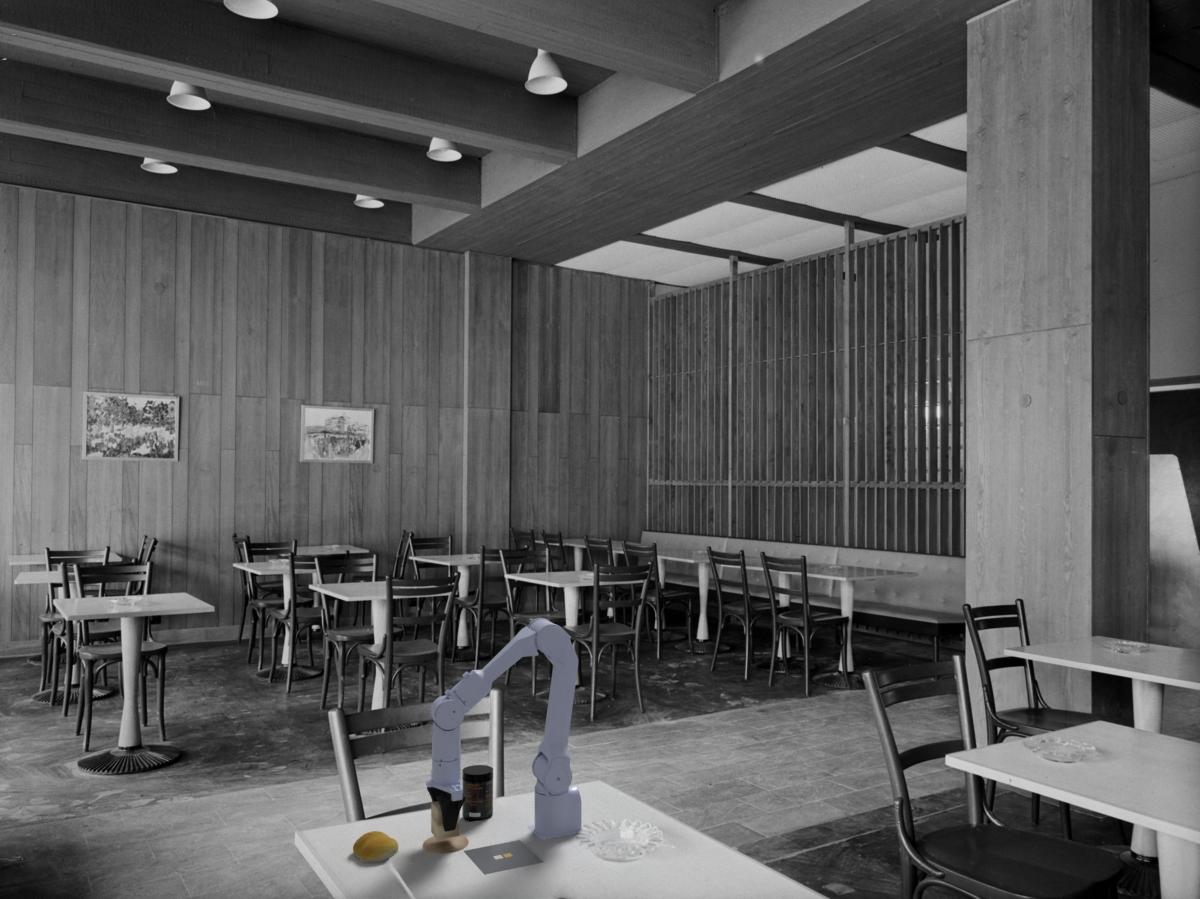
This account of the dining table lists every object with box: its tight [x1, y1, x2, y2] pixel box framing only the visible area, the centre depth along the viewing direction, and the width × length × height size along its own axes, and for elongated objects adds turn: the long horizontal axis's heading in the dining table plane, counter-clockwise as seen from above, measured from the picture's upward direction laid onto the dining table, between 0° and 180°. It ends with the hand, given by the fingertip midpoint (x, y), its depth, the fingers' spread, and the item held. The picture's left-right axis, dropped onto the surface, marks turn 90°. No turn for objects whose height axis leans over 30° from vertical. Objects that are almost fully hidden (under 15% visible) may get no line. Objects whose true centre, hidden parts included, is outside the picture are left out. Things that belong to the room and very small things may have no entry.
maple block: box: [430, 801, 461, 840], centre depth 184 cm, size 4×4×6 cm
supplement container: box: [461, 764, 494, 823], centre depth 199 cm, size 7×7×10 cm
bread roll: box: [352, 830, 399, 863], centre depth 180 cm, size 8×9×4 cm
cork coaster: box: [422, 834, 470, 854], centre depth 184 cm, size 9×9×1 cm
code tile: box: [463, 839, 545, 875], centre depth 177 cm, size 12×12×1 cm
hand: (445, 825), depth 184 cm, fingers closed on maple block, 4 cm apart
